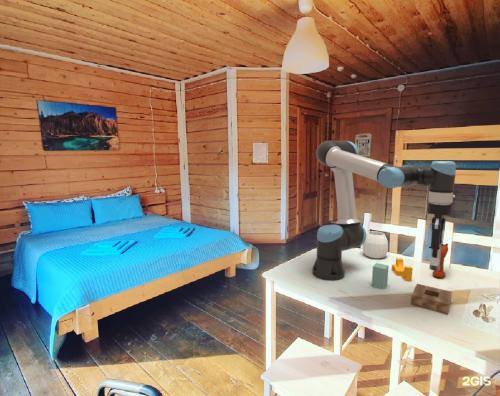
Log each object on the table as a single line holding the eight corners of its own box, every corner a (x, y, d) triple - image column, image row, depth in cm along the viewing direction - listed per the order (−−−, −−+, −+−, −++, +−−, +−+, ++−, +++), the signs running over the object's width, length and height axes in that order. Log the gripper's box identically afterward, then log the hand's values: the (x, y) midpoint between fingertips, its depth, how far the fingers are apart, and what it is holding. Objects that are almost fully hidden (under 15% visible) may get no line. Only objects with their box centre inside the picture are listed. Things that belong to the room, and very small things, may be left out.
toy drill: (450, 268, 146) (453, 239, 144) (443, 280, 133) (446, 248, 130) (439, 265, 149) (442, 237, 147) (430, 277, 136) (433, 246, 134)
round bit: (428, 269, 111) (431, 244, 109) (429, 266, 113) (431, 242, 112) (438, 271, 109) (441, 245, 107) (439, 268, 111) (441, 243, 110)
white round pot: (386, 253, 168) (387, 231, 165) (388, 261, 155) (390, 237, 153) (362, 251, 172) (363, 229, 170) (362, 258, 160) (363, 235, 158)
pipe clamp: (391, 270, 144) (392, 258, 143) (400, 270, 144) (401, 258, 143) (401, 281, 133) (402, 267, 132) (411, 281, 132) (412, 268, 131)
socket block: (410, 304, 112) (411, 294, 112) (416, 292, 122) (416, 283, 121) (448, 314, 105) (449, 304, 104) (450, 301, 114) (451, 291, 114)
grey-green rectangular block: (371, 285, 128) (372, 266, 127) (375, 281, 132) (376, 262, 131) (384, 289, 125) (385, 269, 124) (387, 284, 129) (388, 265, 128)
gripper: (450, 207, 98) (444, 273, 102) (454, 201, 111) (448, 259, 115) (425, 205, 103) (419, 268, 107) (431, 199, 116) (426, 255, 119)
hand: (434, 263), depth 111 cm, fingers closed on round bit, 3 cm apart
